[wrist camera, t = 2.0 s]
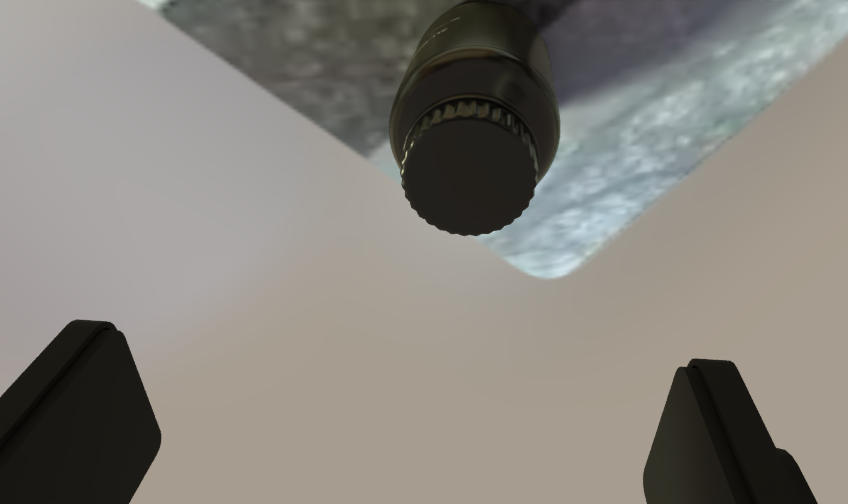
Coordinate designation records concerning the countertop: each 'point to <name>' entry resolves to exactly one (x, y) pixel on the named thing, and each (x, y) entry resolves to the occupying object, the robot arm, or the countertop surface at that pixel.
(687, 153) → the countertop surface
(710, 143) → the countertop surface
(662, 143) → the countertop surface
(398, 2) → the countertop surface
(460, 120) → the supplement bottle
